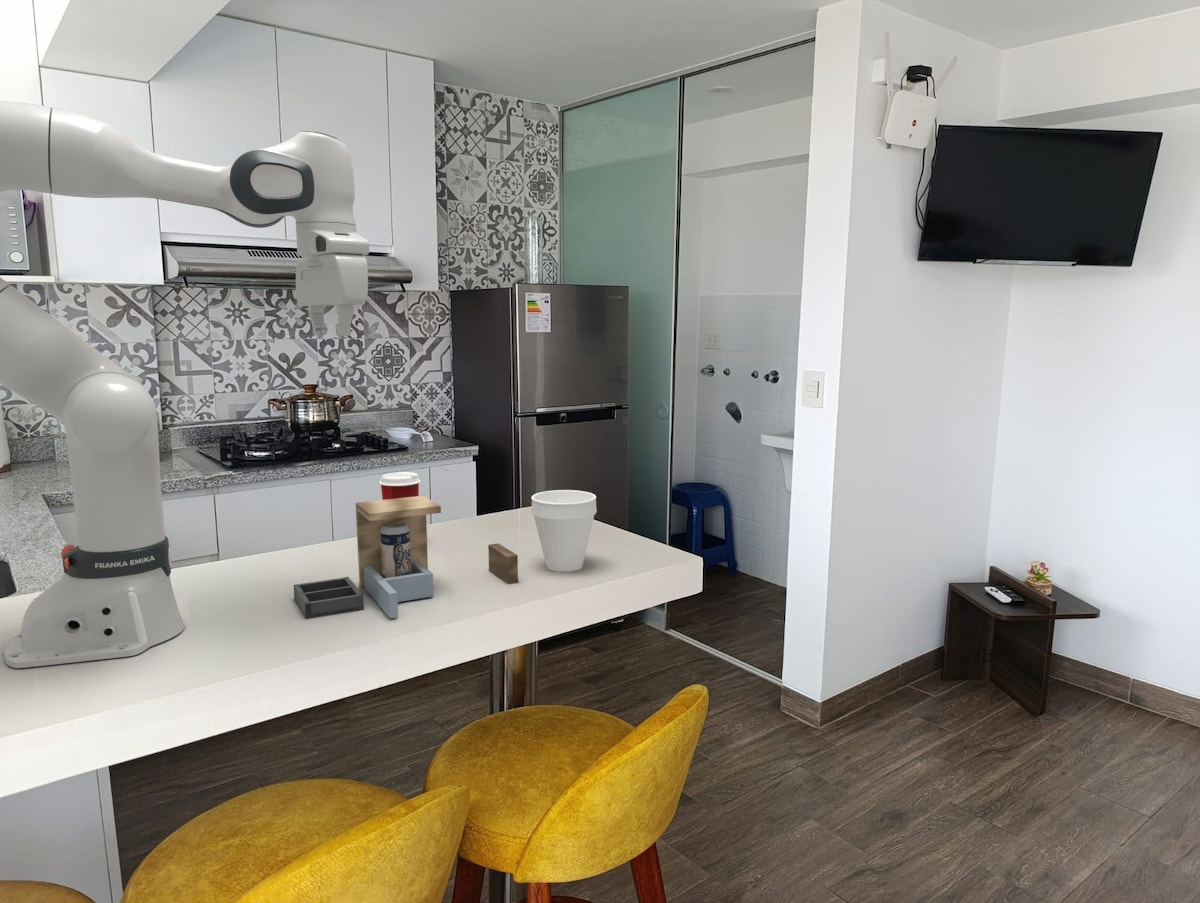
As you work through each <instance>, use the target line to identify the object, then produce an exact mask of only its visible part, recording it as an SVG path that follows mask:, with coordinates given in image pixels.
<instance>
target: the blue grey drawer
mask: <svg viewBox="0 0 1200 903" xmlns="http://www.w3.org/2000/svg"><path fill="white" fill-rule="evenodd" d="M364 580H365V589H364V590H365V591H366V592H367V593H368V594H369V595H370V596H371V598H372V599H373V601H375V603H376V605H378V606H379V607H380V608H381V610H382V611H383V612H384V613H385V614H386V616H388V617H389V619H395V618H398V617H399V612H398V603H401V602H406V601H412V600H420V599H425V598H431V597H434V574H433V572H432V571H431V570H430V569H429V568H428V569H427V568H426V567H425V566H423V565H422V564H421V563H420V562H419V561H418V560H411V574H410V575H404V576H397V577H390V578H382V577H381V576H380V575H379V574H378V573H377V572H376V571H375V569H374V568H373V567H372V566H366V567H364Z"/></svg>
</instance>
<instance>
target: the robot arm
mask: <svg viewBox="0 0 1200 903" xmlns="http://www.w3.org/2000/svg"><path fill="white" fill-rule="evenodd" d="M352 162H353V161H352V157H351V153H350V151H349V148H348V147H347V145H346V144H345V143H344V142H343V141H342V140H340V139H338V138H337V137H335V136H333V135H330V134H328V133H324V132H320V131H309V130H304V131H299V132H297V133H296V134H295V135H294V136H292V137H290V138H289V139H287V140H285V141H282V142H281V143H278V144H275V145H272V146H268V147H264V148H263V147H262V148H258V149H254V150H249V151H246V152H244V153H242V154H241V155H239V156H238V157H237V158H236V160H234V162H233V163H232V164H230V165H224V166H217V165H211V164H207V163H206V164H205V163H200V162H195V161H190V160H185V159H180V158H175V157H169V156H165V155H161V154H159V153H157V152H153V151H150V150H148V149H147V148H145V147H143V146H141V145H140V144H138V143H136V142H135V141H133V139H132V138H129V137H128V136H127V135H126V134H125V133H123V132H122V131H121V130H120V129H119V128H117V127H116V126H114V125H113V124H111V123H108V122H106V121H104V120H101V119H98V118H95V117H92V116H90V115H87V114H83V113H80V112H76V111H72V110H70V109H69V110H67V109H64V108H58V107H52V106H46V105H40V104H36V103H35V104H33V103H27V102H26V103H25V102H20V101H19V102H17V101H7V100H6V101H4V100H0V193H3V192H6V191H30V192H31V191H32V192H38V193H44V194H49V195H55V196H62V197H63V196H64V197H73V198H86V199H87V198H88V199H109V198H110V199H116V198H121V199H122V198H126V199H127V198H128V199H129V198H130V199H131V198H134V199H135V198H144V199H146V198H147V199H156V200H160V201H161V200H162V201H167V202H173V203H179V204H185V205H190V206H197V207H203V208H208V209H213V210H216V211H218V212H220V213H223V214H225V215H227V216H228V217H230V218H232V219H233V220H235V221H237V222H238V223H240V224H242V225H244V226H246V227H251V228H256V229H262V228H263V229H264V228H269V227H272V226H275V225H276V224H278V223H280V222H281V221H282V220H283V219H284V218H285V217H292V218H294V220H295V231H296V233H295V235H296V253H297V254H296V255H297V256H299V257H301V258H300V259H299V260H297V263H296V267H295V299H296V302H297V305H298V306H299V307H307V310H308V312H307V313H308V316H309V319H310V322H311V325H312V333H313V335H314V336H326V335H327V332H328V330H327V329H328V328H327V327H328V326H327V325H328V323H326V322H325V317H324V314H325V307H327V306H328V307H329V306H332V307H333V306H334V307H335V306H336V313H338V314H337V324H336V323H335V335H336V336H338V337H350V336H351V334H352V330H351V329H352V328H351V324H352V322H353V318H354V314H355V310H354V306H363V305H365V303H366V301H367V298H368V293H369V292H368V290H369V271H368V270H369V269H368V260H367V258H366V256H368V255H369V253H370V243H369V240H368V239H366V238H365V237H363V236H362V235H360V234H359V232H357V222H356V219H355V215H354V210H353V209H354V203H355V200H356V194H355V178H354V170H353V163H352ZM0 385H1V386H3V387H4V388H6V389H8V390H9V391H12V392H14V393H15V394H16V395H18V396H20V397H22V398H24V399H25V400H27V401H28V402H30V403H31V404H33V405H35V406H36V407H38V408H40V409H41V410H43V411H44V412H46V413H48V414H49V415H51V416H52V417H54V418H55V419H56V420H58V421H60V422H62V423H63V424H64V433H65V440H66V449H67V457H68V464H69V471H70V472H69V473H70V481H71V489H72V496H73V506H74V513H75V514H74V515H75V523H76V524H75V525H76V536H77V543H78V544H77V545H73V544H67V545H65V546H63V547H62V548H61V552H60V558H61V559H62V568H63V569H62V570H63V572H64V575H63V576H61V577H60V578H59V579H58V580H57V581H55V582H54V583H52V584H51V585H50V586H49V587H48V588H46V589H45V590H44V591H43V592H42V593H41V594H39V595H38V596H37V597H35V598H34V599H33V600H32V601H31V603H30V604H29V605H28V606H27V609H26V610H25V613H24V615H23V618H22V623H21V632H20V633H18V634H17V635H15V636H14V637H12V638H11V639H10V640H9V641H8V642H7V644H6V646H5V648H4V662H5V664H6V665H7V666H9V667H11V668H15V669H22V668H24V669H25V668H33V667H44V666H51V665H61V664H62V665H63V664H70V663H80V662H88V661H98V660H107V659H116V658H118V659H119V658H125V657H133V656H137V655H139V654H141V653H143V652H145V651H146V650H147V649H149V648H151V647H153V646H155V645H158V644H161V643H163V642H167V641H168V640H170V639H172V638H174V637H175V636H177V635H179V634H180V633H182V631H183V630H184V629H185V627H186V626H185V622H184V620H183V618H182V615H181V613H180V611H179V608H178V605H177V602H176V597H175V595H174V594H175V593H174V589H173V586H172V580H171V574H172V568H173V567H172V565H173V564H172V555H171V545H170V542H169V538H168V537H167V536H166V534H165V533H166V532H165V521H164V520H165V519H164V509H163V496H162V486H161V484H162V482H161V465H160V463H161V462H160V461H161V460H160V459H161V458H160V443H159V441H160V440H159V429H158V428H159V427H158V424H159V423H158V414H157V413H158V412H157V407H156V404H155V401H154V399H153V397H152V395H151V394H150V393H149V391H148V390H147V389H146V387H145V386H144V385H143V384H142V382H140V381H139V380H138V379H137V378H136V377H134V376H133V375H132V374H130V373H129V372H127V370H125V369H124V368H122V367H121V366H119V365H118V364H117V363H116V362H114V361H112V360H111V359H110V358H109V357H107V356H106V355H105V354H103V353H102V351H99V350H98V349H97V348H95V347H94V346H92V345H91V344H90V343H89V342H88V341H86V340H84V339H83V338H82V337H81V336H79V335H78V334H76V333H75V332H74V331H72V330H71V329H70V328H68V327H67V326H65V325H64V324H63V323H62V322H61V321H59V320H58V319H56V317H54V316H53V315H51V314H50V313H48V312H47V311H46V310H44V309H43V308H42V307H41V306H39V305H38V304H37V303H36V302H34V301H33V300H31V299H30V298H29V297H27V296H26V295H25V294H24V293H22V292H21V291H19V290H18V289H17V288H15V286H12V285H11V284H10V283H9V282H7V281H6V279H4V278H2V277H1V276H0Z"/></svg>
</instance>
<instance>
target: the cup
mask: <svg viewBox="0 0 1200 903" xmlns="http://www.w3.org/2000/svg"><path fill="white" fill-rule="evenodd" d="M530 498H531V510H530V511H531V515H533V516H534V522H535V526H536V529H537V534H538V538H539V542H540V546H541V550H542V553H543V557H544V562H545V566H546V569H547V570H548V571H553V572H557V573H571V572H577V571H579V570H581V569H582V568H583V565H584V561H585V557H586V553H587V552H586V551H587V547H588V543H589V539H590V535H591V531H592V527H593V522H594V517H595V515H596V514H597V512H598V511H597V500H596V499H597V496H596V494H594V493H592V492H590V491H589V492H588V491H582V490H575V489H574V490H573V489H557V490H545V491H541V492H537V493H534V494H533V495H532V496H531V497H530Z"/></svg>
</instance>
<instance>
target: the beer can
mask: <svg viewBox="0 0 1200 903" xmlns="http://www.w3.org/2000/svg"><path fill="white" fill-rule="evenodd" d="M381 552H382V576H383V578H390V577H397V576H404V575H410V574H411V558H410V531H409V528H408V527H407V524H406V523H401V522H392V523H387V524H385V525H383V527H382V529H381Z"/></svg>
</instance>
